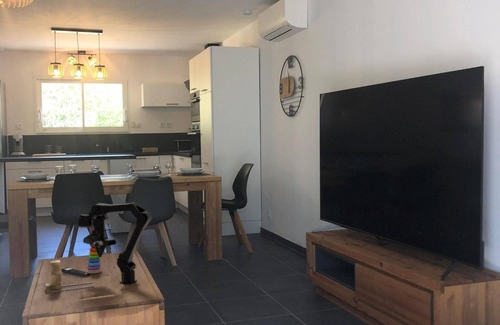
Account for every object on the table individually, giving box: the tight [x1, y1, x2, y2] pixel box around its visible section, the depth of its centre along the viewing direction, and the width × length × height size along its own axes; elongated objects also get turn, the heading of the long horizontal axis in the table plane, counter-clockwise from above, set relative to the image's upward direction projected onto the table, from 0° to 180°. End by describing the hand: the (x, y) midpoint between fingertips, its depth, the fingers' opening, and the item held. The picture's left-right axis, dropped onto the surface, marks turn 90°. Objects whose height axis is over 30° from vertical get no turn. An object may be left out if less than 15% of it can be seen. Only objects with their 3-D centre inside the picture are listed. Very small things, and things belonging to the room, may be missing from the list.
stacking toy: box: [86, 244, 102, 274], centre depth 298 cm, size 8×8×19 cm
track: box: [46, 281, 94, 294], centre depth 265 cm, size 22×8×1 cm, turn 114°
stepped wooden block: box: [45, 259, 62, 293], centre depth 261 cm, size 7×6×14 cm
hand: (100, 257), depth 278 cm, fingers closed
